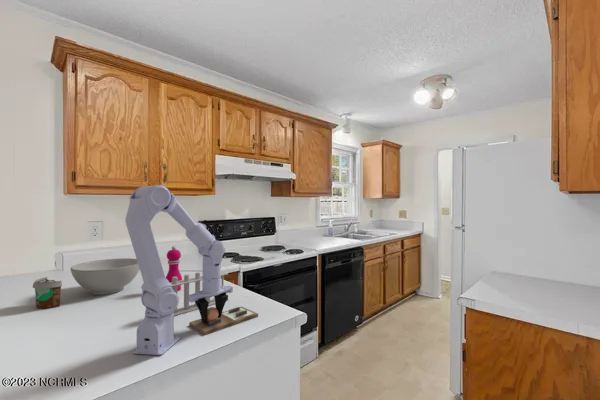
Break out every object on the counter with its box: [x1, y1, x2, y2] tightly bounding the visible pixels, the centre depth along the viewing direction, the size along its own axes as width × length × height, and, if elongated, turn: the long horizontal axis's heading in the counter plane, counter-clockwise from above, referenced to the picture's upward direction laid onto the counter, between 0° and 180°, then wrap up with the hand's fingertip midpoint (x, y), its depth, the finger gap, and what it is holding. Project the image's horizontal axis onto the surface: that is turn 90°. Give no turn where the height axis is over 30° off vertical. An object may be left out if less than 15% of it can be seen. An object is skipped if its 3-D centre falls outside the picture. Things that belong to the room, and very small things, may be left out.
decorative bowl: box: [69, 257, 140, 295], centre depth 130 cm, size 27×27×12 cm
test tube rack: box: [170, 271, 230, 318], centre depth 109 cm, size 25×4×13 cm, turn 140°
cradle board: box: [188, 306, 259, 336], centre depth 96 cm, size 20×10×2 cm, turn 136°
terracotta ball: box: [207, 306, 219, 322], centre depth 93 cm, size 4×4×4 cm
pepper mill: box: [165, 245, 183, 292], centre depth 131 cm, size 7×7×20 cm
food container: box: [32, 276, 63, 310], centre depth 109 cm, size 12×6×10 cm, turn 62°
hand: (211, 319), depth 93 cm, fingers closed on terracotta ball, 4 cm apart
